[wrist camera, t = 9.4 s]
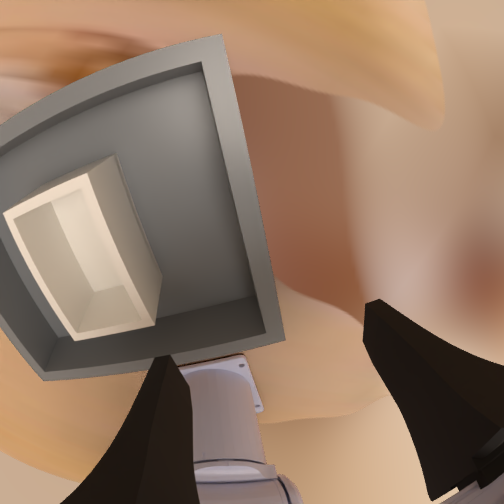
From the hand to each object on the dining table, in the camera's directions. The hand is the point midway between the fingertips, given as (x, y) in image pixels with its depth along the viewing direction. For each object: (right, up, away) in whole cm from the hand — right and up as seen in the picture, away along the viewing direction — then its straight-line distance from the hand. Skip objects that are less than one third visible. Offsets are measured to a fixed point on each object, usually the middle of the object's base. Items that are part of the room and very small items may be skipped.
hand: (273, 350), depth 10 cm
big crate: (-10, +5, +6) cm, 13 cm away
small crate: (-10, +5, +6) cm, 12 cm away
